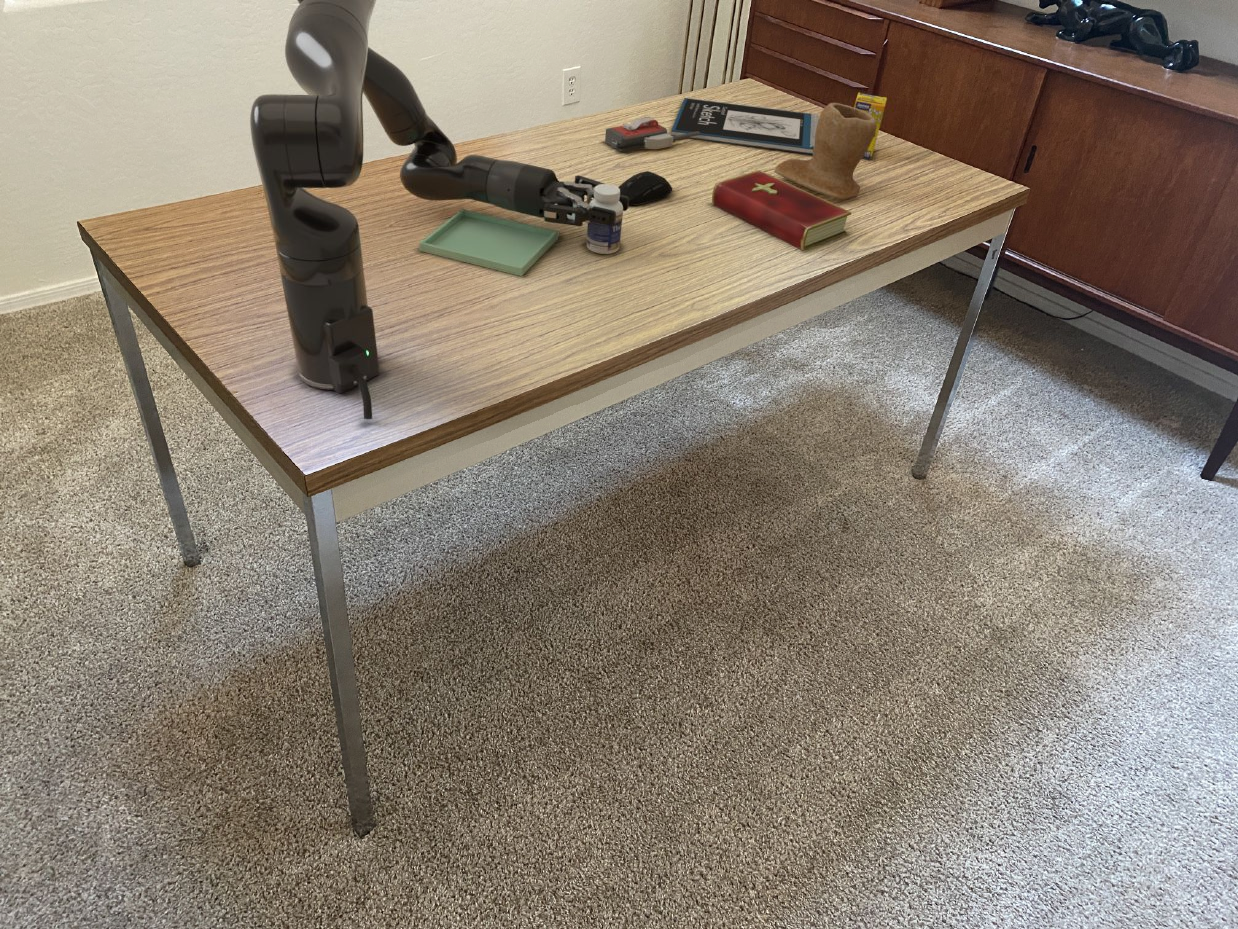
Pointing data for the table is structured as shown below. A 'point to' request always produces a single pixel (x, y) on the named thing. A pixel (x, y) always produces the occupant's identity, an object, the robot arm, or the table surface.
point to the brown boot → (834, 152)
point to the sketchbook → (747, 125)
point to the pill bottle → (603, 235)
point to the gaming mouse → (645, 188)
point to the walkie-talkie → (642, 136)
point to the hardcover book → (781, 209)
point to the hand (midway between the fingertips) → (621, 211)
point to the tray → (490, 241)
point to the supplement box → (874, 108)
